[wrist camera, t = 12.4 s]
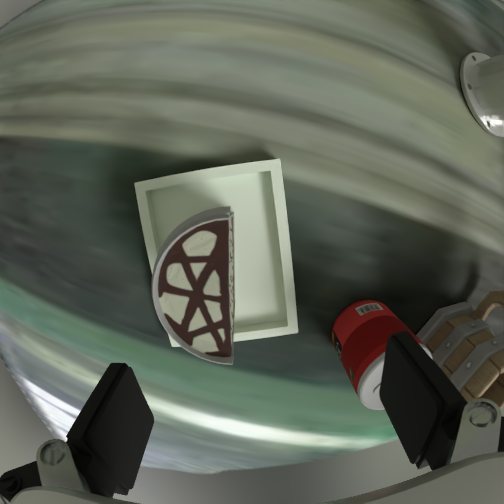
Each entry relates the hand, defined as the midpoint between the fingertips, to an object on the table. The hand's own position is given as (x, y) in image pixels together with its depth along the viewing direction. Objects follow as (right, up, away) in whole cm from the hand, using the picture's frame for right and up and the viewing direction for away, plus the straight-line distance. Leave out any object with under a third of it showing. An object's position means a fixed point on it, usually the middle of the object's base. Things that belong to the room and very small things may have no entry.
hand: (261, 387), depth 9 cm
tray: (-4, +4, +21) cm, 22 cm away
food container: (-5, +4, +20) cm, 21 cm away
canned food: (+13, -4, +24) cm, 27 cm away
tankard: (+30, -6, +25) cm, 39 cm away
